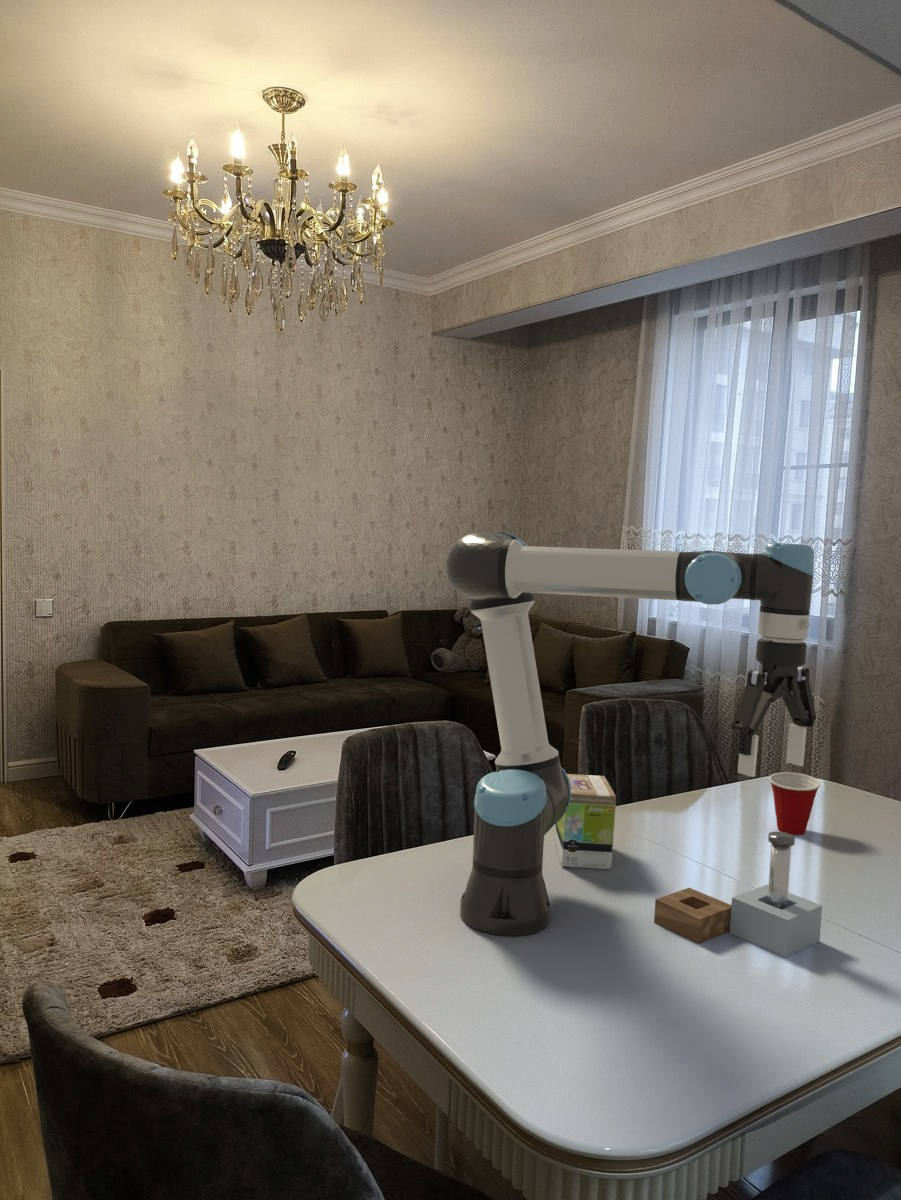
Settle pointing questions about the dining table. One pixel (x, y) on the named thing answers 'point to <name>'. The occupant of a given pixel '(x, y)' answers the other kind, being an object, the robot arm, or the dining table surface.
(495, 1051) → the dining table surface
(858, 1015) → the dining table surface
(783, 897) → the lock pin
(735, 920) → the socket block
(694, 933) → the mount block
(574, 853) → the tea box
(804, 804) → the plastic cup
